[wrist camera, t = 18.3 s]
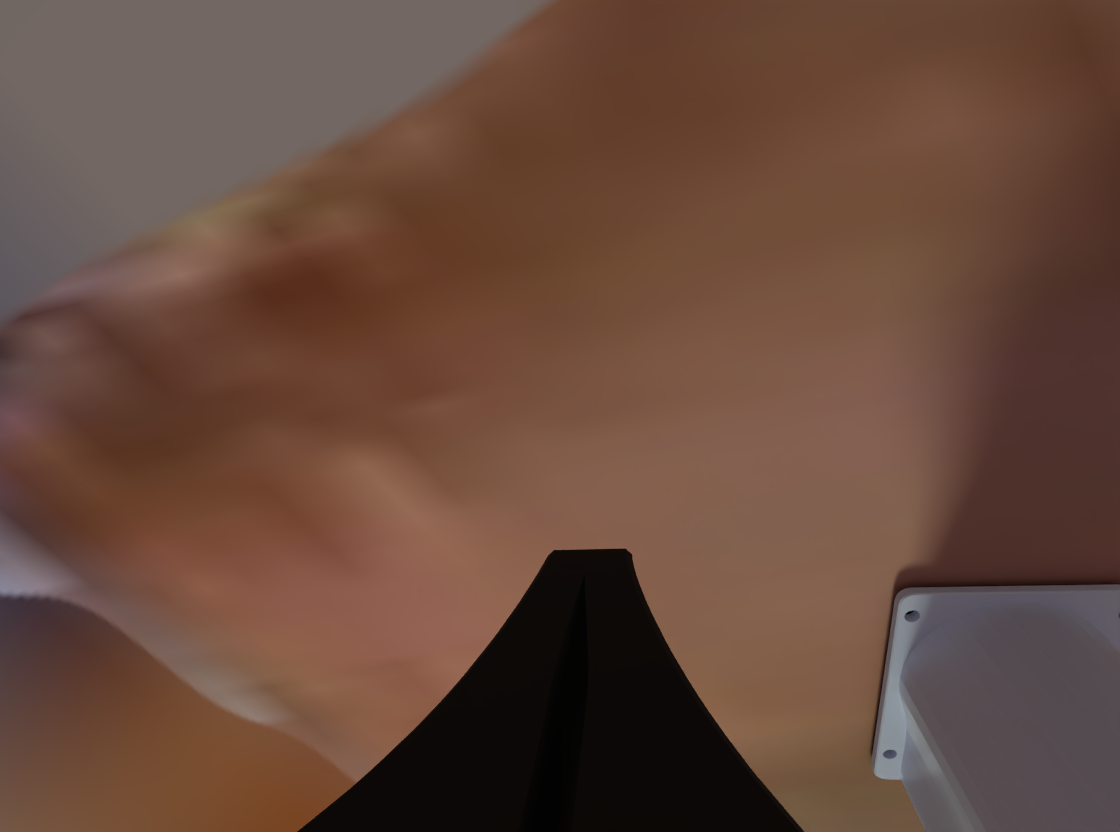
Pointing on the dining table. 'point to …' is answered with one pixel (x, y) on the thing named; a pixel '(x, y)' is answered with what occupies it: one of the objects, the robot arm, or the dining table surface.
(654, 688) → the robot arm
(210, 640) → the dining table surface
